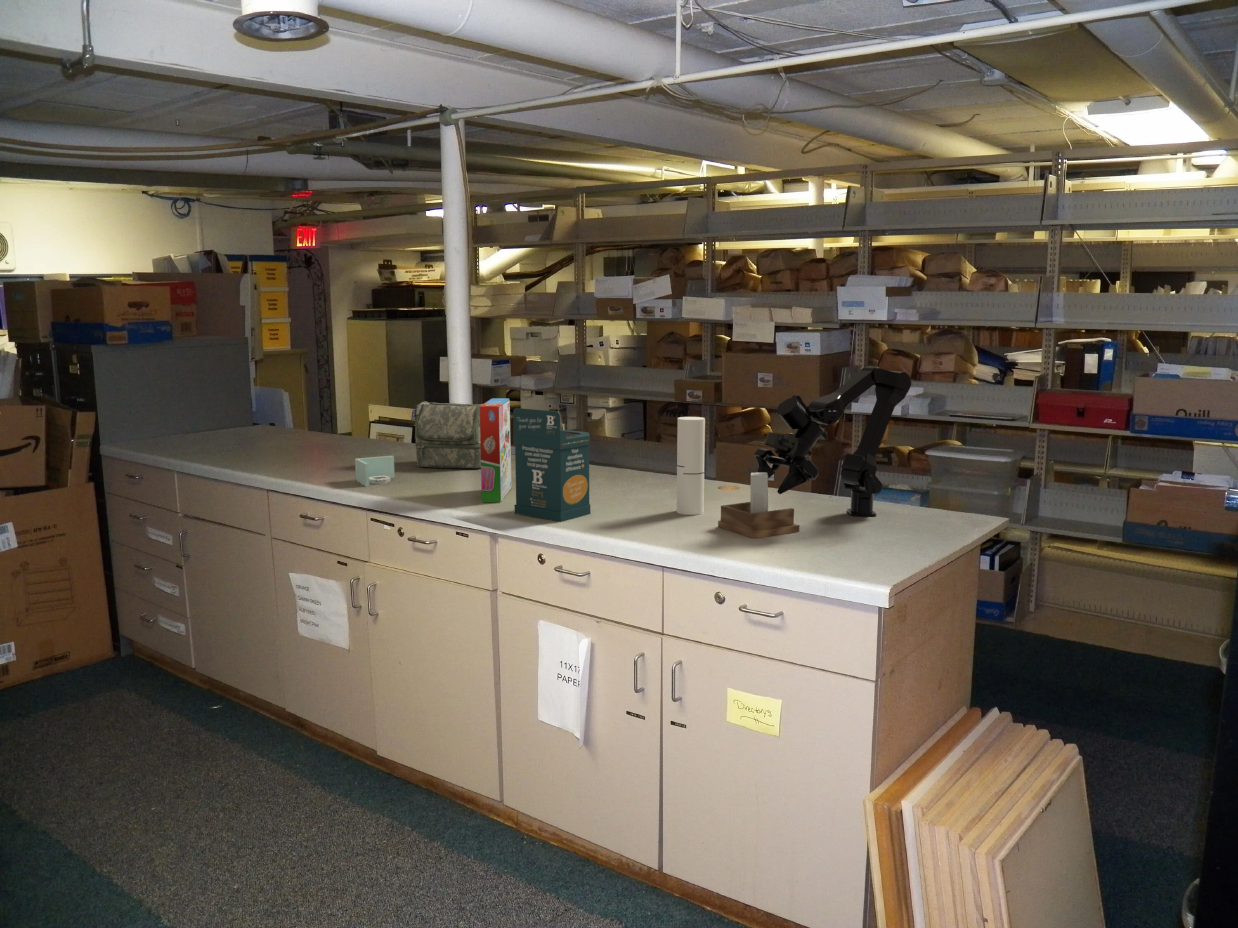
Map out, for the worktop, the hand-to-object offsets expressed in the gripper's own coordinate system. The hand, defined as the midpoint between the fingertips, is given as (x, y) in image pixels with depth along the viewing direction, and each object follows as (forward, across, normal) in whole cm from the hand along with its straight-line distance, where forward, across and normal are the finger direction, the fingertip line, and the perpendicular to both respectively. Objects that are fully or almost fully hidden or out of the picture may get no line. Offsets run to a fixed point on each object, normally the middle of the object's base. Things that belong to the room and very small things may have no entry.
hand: (766, 489), depth 230 cm
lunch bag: (+30, -128, -16) cm, 132 cm away
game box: (+36, -71, -22) cm, 83 cm away
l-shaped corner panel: (+52, -110, -38) cm, 127 cm away
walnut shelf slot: (+8, 0, +5) cm, 10 cm away
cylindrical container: (+11, -24, +3) cm, 27 cm away
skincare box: (+7, 0, +4) cm, 8 cm away
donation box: (+32, -42, -19) cm, 56 cm away
